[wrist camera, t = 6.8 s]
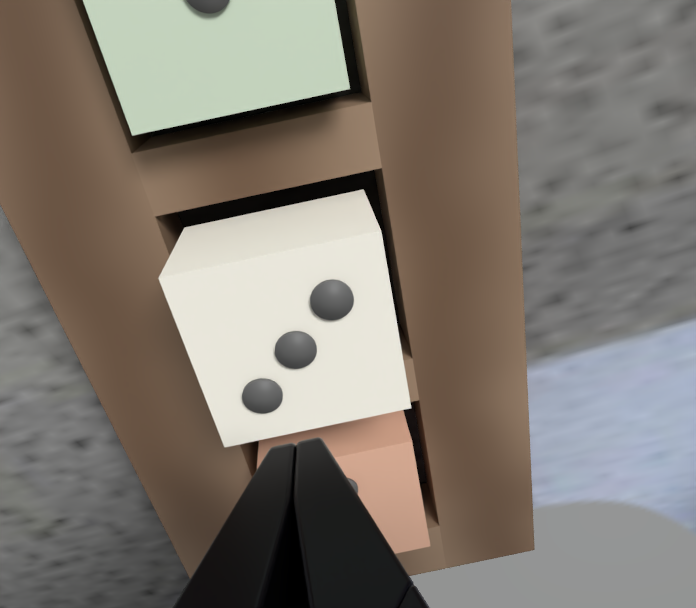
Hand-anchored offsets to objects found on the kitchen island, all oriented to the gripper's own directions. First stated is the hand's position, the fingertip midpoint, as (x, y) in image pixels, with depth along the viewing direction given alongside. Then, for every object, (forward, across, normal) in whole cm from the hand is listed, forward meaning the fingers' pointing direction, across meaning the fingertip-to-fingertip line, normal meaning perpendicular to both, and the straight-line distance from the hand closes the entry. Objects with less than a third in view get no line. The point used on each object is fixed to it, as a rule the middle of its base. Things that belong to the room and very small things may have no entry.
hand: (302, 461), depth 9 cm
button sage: (+8, 0, -7) cm, 11 cm away
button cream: (+6, 0, 0) cm, 6 cm away
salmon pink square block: (+8, 0, +7) cm, 11 cm away
